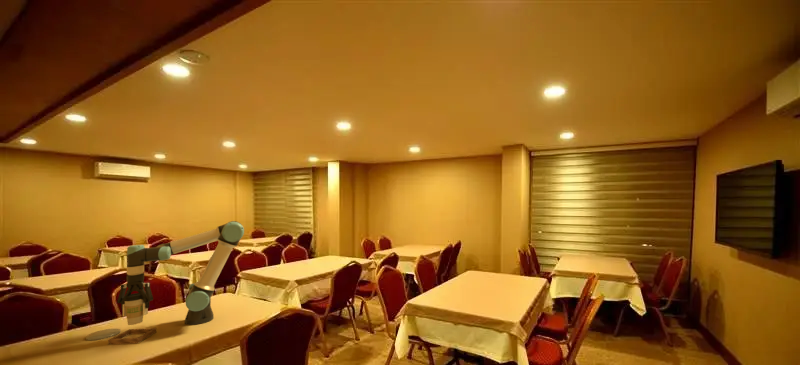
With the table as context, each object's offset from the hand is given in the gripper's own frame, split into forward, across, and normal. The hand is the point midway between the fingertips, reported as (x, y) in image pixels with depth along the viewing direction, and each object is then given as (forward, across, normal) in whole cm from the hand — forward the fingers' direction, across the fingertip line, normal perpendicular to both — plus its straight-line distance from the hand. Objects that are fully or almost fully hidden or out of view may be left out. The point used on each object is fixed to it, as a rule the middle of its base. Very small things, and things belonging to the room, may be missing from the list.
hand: (135, 315), depth 178 cm
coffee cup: (+4, 0, 0) cm, 4 cm away
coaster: (+12, +21, -6) cm, 24 cm away
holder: (+12, +1, 0) cm, 12 cm away
